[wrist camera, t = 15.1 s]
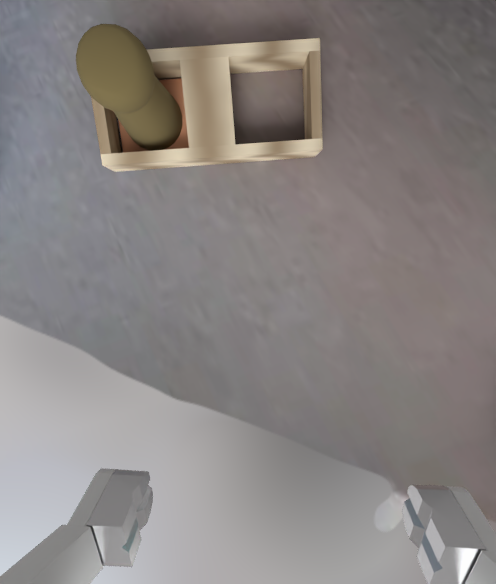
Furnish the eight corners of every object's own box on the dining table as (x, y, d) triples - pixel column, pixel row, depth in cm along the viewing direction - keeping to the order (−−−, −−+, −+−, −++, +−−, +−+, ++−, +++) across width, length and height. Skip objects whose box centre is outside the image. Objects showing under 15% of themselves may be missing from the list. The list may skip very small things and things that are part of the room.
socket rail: (311, 57, 30) (319, 38, 27) (314, 156, 32) (322, 149, 29) (99, 71, 30) (84, 53, 27) (115, 171, 31) (102, 165, 28)
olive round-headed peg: (117, 91, 30) (48, 10, 19) (176, 82, 30) (141, -3, 19) (130, 154, 31) (72, 112, 20) (187, 146, 31) (160, 100, 20)
